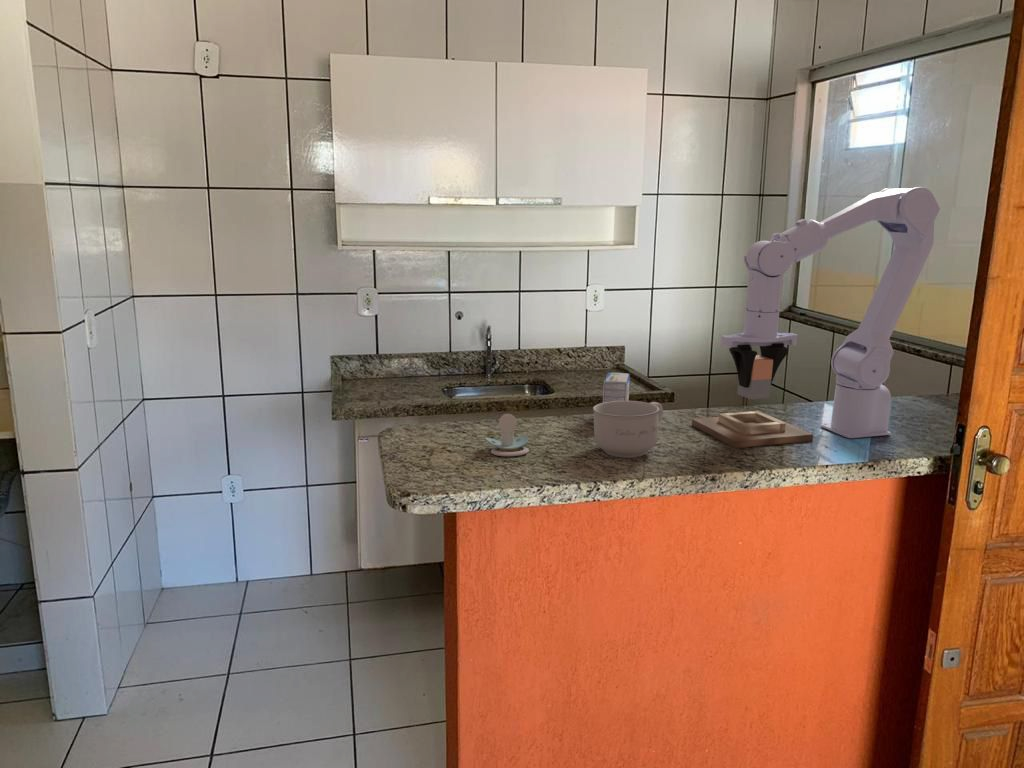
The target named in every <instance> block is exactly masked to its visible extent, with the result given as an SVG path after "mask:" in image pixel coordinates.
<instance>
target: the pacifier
mask: <svg viewBox="0 0 1024 768" xmlns="http://www.w3.org/2000/svg"><path fill="white" fill-rule="evenodd" d="M517 425H518V424H517V419H516V417H515V416H514V415H512V414H510V413H504V414H503V415H502V416H500V418H499V421H498V427H499V430H500V431H501V434H500V440H498V439H495V438H490V437H485V439H484V440H485V441H486V442H487V443H488V444H490V445H491V446H493V448H492V449H491V450H490V453H491V454H492V455H493V456H499V457H519V456H523V455H526V454H528V453H530V449H529V448H528V447H525V445H526V444H527V443H528V442H529V440H530V439H529V438H530V436H529V434H522V435H517V436H516V437H515V435H514V433H515V431H516V429H517Z"/></svg>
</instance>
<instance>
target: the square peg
mask: <svg viewBox="0 0 1024 768" xmlns="http://www.w3.org/2000/svg"><path fill="white" fill-rule="evenodd" d="M772 368H773V359H770V358H767V357H764V356H761V354H757V355H756V357H755V360H754V363H753V367H752V372H751V381H750V385H749V387H748V388H745V387H743V386H740V385H739V379H738V381H737V392H736V393H737V395H738V396H740V397H743V398H746V399H748V400H759V399H770V397H771V388H772V387H771V386H772V384H771V378H772Z"/></svg>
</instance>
